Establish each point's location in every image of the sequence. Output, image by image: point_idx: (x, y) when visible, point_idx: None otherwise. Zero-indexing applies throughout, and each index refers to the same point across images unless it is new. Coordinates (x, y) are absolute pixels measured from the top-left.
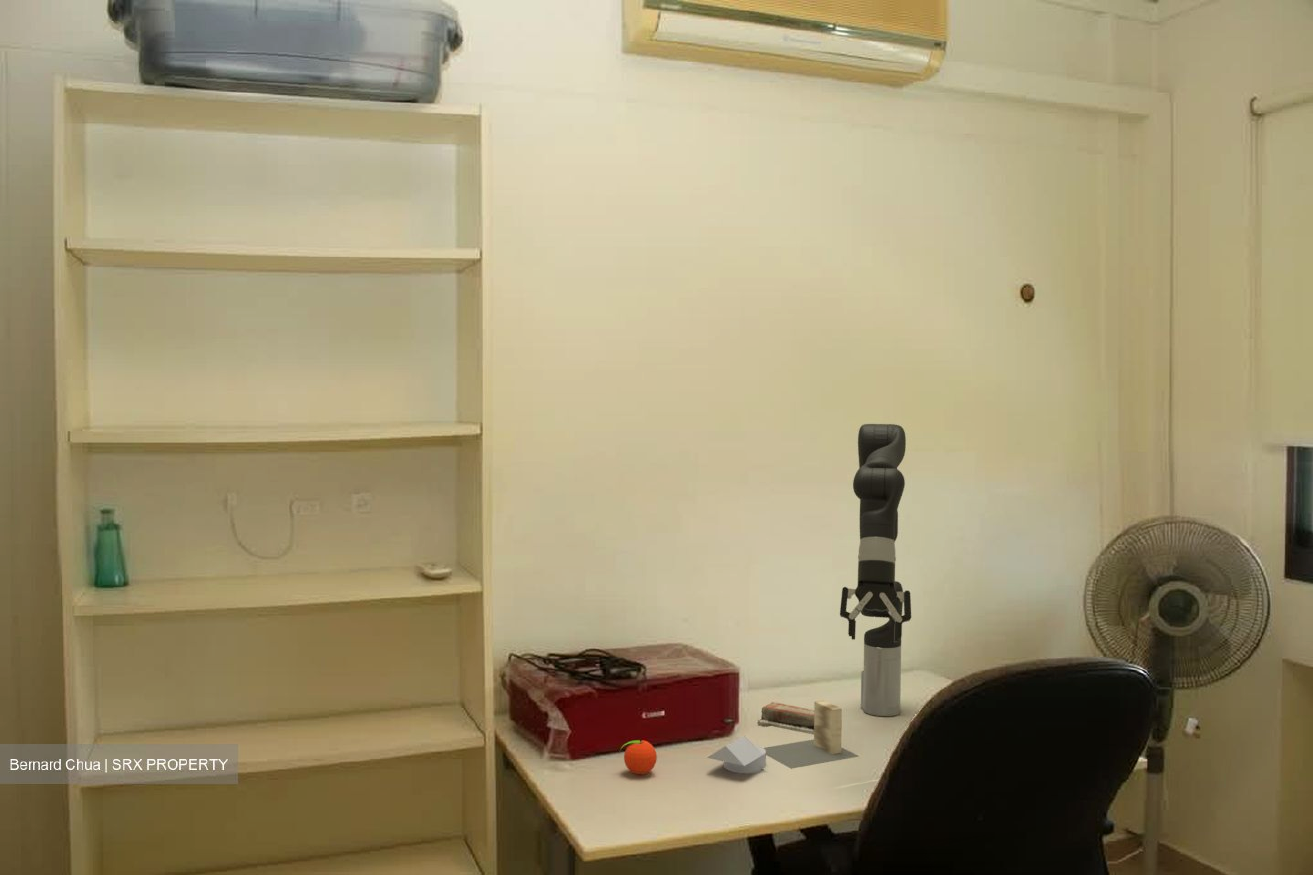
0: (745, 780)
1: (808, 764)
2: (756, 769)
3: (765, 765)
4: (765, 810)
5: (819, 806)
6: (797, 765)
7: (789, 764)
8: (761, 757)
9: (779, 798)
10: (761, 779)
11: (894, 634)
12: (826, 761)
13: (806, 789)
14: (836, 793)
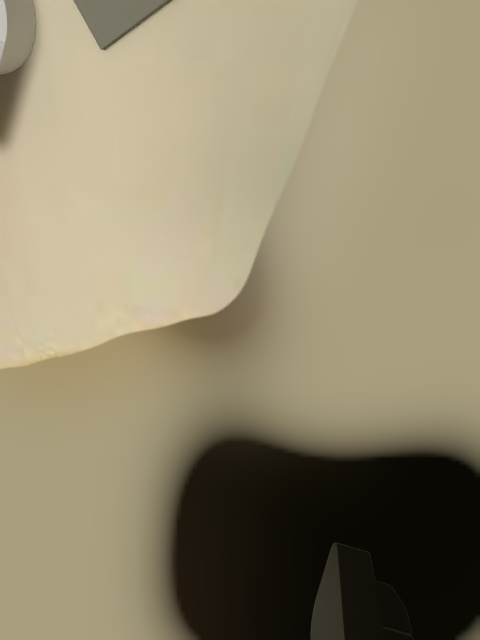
0: (7, 132)
1: (148, 5)
2: (15, 66)
3: (32, 21)
4: (71, 303)
5: (168, 293)
6: (116, 18)
7: (94, 9)
8: (5, 53)
9: (90, 247)
10: (40, 125)
11: (327, 625)
12: None
13: (144, 197)
14: (209, 225)
